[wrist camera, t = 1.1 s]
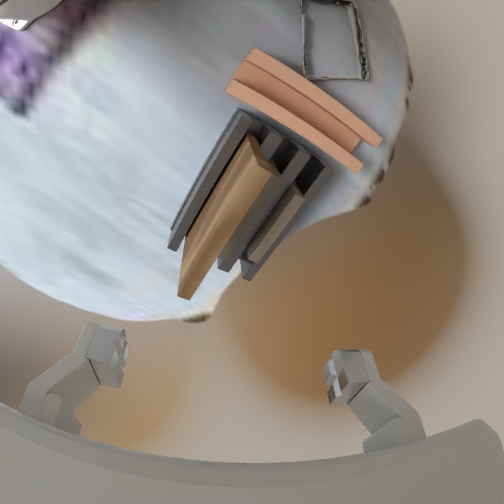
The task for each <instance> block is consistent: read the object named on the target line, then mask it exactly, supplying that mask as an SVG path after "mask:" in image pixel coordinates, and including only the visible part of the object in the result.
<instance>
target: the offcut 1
mask: <svg viewBox="0 0 504 504" xmlns="http://www.w3.org/2000/svg"><path fill="white" fill-rule="evenodd" d="M268 164H269V166H270V169H271V171H272V173H273V175H272V176H271V178H270V179H269V180H268V182H267V183H266V185H265V186H264V188H263V189H262V191H261V192H260V194H259V195H258V197H257V198H256V200H255V201H254V203H253V204H252V206H251V207H250V209H249V210H248V212H247V213H246V215H245V216H244V218H243V219H242V221H241V222H240V224H239V225H238V227H237V228H236V230H235V231H234V233H233V234H232V236H231V237H230V239H229V240H228V242H227V243H226V245H225V246H224V248H223V249H222V251H221V253H220V254H219V256H218V257H219V258H221V259H223V260H226V261H228V260H229V259H230V257H231V256H232V254H233V253H234V251H235V250H236V249H237V247H238V246H239V244H240V243H241V241H242V240H243V238H244V237H245V235H246V234H247V233H248V231H249V230H250V228H251V227H252V225H253V224H254V222H255V221H256V220H257V218H258V217H259V215H260V214H261V212H262V211H263V209H264V208H265V207H266V205H267V204H268V202H269V201H270V199H271V198H272V197H273V195H274V194H275V192H276V191H277V189H278V188H279V187H280V185H281V184H282V182H283V181H284V180H283V178H282V176H281V175H280V173H279V171H278V169H277V167H276V165H275V163H274V161H273V160H272V159H269V161H268Z"/></svg>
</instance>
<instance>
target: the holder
mask: <svg viewBox="0 0 504 504" xmlns="http://www.w3.org/2000/svg"><path fill="white" fill-rule="evenodd" d="M225 90H226V92H227V93H229V94H231V95H233V96H234V97H236V98H238V99H240V100H242V101H244V102H246V103H247V104H249V105H251V106H253V107H255V108H256V109H258V110H260V111H262V112H263V113H265V114H267V115H268V116H270V117H272V118H273V119H275V120H277V121H278V122H280V123H282V124H283V125H285V126H287V127H288V128H290V129H291V130H293V131H295V132H296V133H298V134H299V135H301V136H302V137H304V138H305V139H307V140H308V141H310V142H312V143H313V144H315V145H316V146H317V147H319V148H320V149H322V150H323V151H325V152H326V153H328V154H329V155H331V156H332V157H333V158H335V159H336V160H338V161H339V162H340V163H342V164H343V165H345V166H346V167H347V168H349V169H350V170H351V171H353V172H354V173H355V174H357V173H358V172H359V170H360V169H361V168H362V166H363V165H364V164H362V163H361V162H360V161H359V160H358V159H356V158H355V157H354V156H353V155H351V154H350V153H351V152H352V150H353V149H354V148H355V146H356V145H357V144H358V142H359V141H360V140H361V139H362V140H363V141H365V142H367V143H368V144H370V145H371V146H373V147H374V148H377V146H378V145H379V144H380V142H381V141H382V138H381V137H380V136H379V135H378V134H377V133H376V132H374V131H373V130H372V129H371V128H370V127H369V126H367V125H366V124H365V123H364V122H363V121H362V120H360V119H359V118H358V117H357V116H355V115H354V114H353V113H352V112H350V111H349V110H348V109H347V108H345V107H344V106H343V105H342V104H340V103H339V102H338V101H336V100H335V99H334V98H332V97H331V96H330V95H328V94H327V93H325V92H324V91H323V90H321V89H320V88H319V87H317V86H316V85H314V84H313V83H311V82H310V81H308V80H307V79H305V78H304V77H303V76H301V75H299V74H298V73H296V72H295V71H293V70H292V69H290V68H289V67H287V66H285V65H284V64H282V63H281V62H279V61H277V60H276V59H274V58H272V57H271V56H269V55H267V54H266V53H264V52H262V51H260V50H258V49H257V48H254V49H252V50H251V51H250V52H249V53H248V55H247V56H246V58H245V59H244V60H243V62H242V63H241V65H240V66H239V68H238V69H237V71H236V72H235V74H234V76H233V77H232V79H231V80H230V82H229V83H228V85H227V86H226V88H225Z"/></svg>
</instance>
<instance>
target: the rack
mask: <svg viewBox="0 0 504 504" xmlns="http://www.w3.org/2000/svg"><path fill="white" fill-rule="evenodd" d="M247 130H248V131H249V132H251V133H253V134H254V135H255V137H256V139H257V141H258V143H259V145H260V147H261V150H262V152H263V154H264V156H265V158H266V160H267V162H268V161H269V159H272V160H273V161H274V163H275V165H276V167H277V169H278V171H279V173H280V175H281V176H282V178H283V180H284V181H283V182H282V184H281V185H280V187H279V188H278V189H277V191H276V192H275V194H274V195H273V197H272V198H271V199H270V201H269V202H268V204H267V205H266V207H265V208H264V209H263V211H262V212H261V214H260V215H259V217H258V218H257V220H256V221H255V222H254V224H253V225H252V227H251V228H250V230H249V231H248V233H247V234H246V235H245V237H244V238H243V240H242V241H241V243H240V244H239V246H238V247H237V249H236V250H235V251H234V253H233V254H232V256H231V257H230V259H229V260H228V261H226V260H223V259H221V258H219V257H218V269H220V270H223V271H225V272H229V271H230V269H231V268H232V267H233V265H234V264H235V262H236V261H237V260H238V259H240V262H241V271H242V278H243V279H246V280H248V281H251V279H252V278H253V277H254V275H255V274H256V273H257V272H258V270H259V269H260V268H261V267H262V265H263V264H264V263H265V261H266V260H267V259H268V258H269V256H270V255H271V254H272V252H273V251H274V249H275V248H276V247H277V246H278V245H279V243H280V242H281V241H282V239H283V238H284V237H285V235H286V234H287V233H288V231H289V230H290V229H291V228H292V226H293V225H294V224H295V222H296V221H297V220H298V218H299V217H300V216H301V214H302V213H303V212H304V210H305V209H306V208H307V207H308V205H309V204H310V203H311V201H312V200H313V199H314V197H315V196H316V195H317V193H318V192H319V191H320V189H321V188H322V187H323V185H324V184H325V183H326V181H327V180H328V179H329V177H330V176H331V175H332V173H333V171H332V170H331V169H330V168H329V167H328V166H327V165H326V164H325V163H324V162H323V160H322V159H321V158H320V157H318V156H317V155H315V154H314V153H312V152H310V151H309V150H307V149H306V148H304V147H303V146H301V145H300V144H298V143H296V142H295V141H293V140H292V139H290V138H288V137H287V136H285V135H284V134H282V133H280V132H279V131H277V130H275V129H274V128H272V127H270V126H268V125H267V124H265V123H263V122H262V121H260V120H258V119H256V118H255V117H253V116H251V115H249V114H247V113H246V112H244V111H242V110H240V109H238V108H237V110H236V111H235V113H234V114H233V116H232V118H231V119H230V121H229V122H228V124H227V126H226V127H225V129H224V131H223V132H222V134H221V136H220V137H219V139H218V141H217V142H216V144H215V146H214V148H213V149H212V151H211V153H210V154H209V156H208V158H207V160H206V161H205V163H204V165H203V167H202V169H201V170H200V172H199V174H198V176H197V178H196V179H195V181H194V183H193V185H192V187H191V189H190V190H189V192H188V194H187V196H186V198H185V200H184V202H183V204H182V206H181V208H180V209H179V211H178V213H177V215H176V217H175V219H174V221H173V223H172V225H171V229H170V230H171V234H170V239H169V243H168V247H167V248H168V249H171V250H173V251H177V250H178V248H179V246H180V244H181V242H182V240H183V238H184V236H186V233H187V231H188V229H189V227H190V225H191V224H192V222H193V220H194V218H195V216H196V215H197V213H198V211H199V209H200V208H201V206H202V204H203V202H204V201H205V199H206V197H207V195H208V194H209V192H210V190H211V188H212V187H213V185H214V183H215V182H216V180H217V178H218V177H219V175H220V173H221V171H222V170H223V168H224V166H225V165H226V163H227V162H228V160H229V158H230V157H231V155H232V153H233V152H234V150H235V148H236V147H237V145H238V144H239V142H240V140H241V139H242V137H243V136H244V134H245V133H246V131H247ZM293 181H295V183H296V184H297V186H298V188H299V190H300V191H301V193H302V195H303V196H304V198H305V201H304V202H303V203H302V205H301V206H300V207H299V209H298V210H297V211H296V213H295V214H294V215H293V217H292V218H291V219H290V221H289V222H288V223H287V225H286V226H285V227H284V229H283V230H282V231H281V233H280V234H279V235H278V237H277V238H276V239H275V241H274V242H273V243H272V245H271V246H270V247H269V249H268V250H267V251H266V253H265V254H264V255H263V257H262V258H261V259H260V261H259V262H258V263H256V262H253V261H251V260H249V259H248V254H247V248H246V247H247V245H248V244H249V243H250V241H251V240H252V238H253V237H254V236H255V234H256V233H257V231H258V230H259V228H260V227H261V226H262V224H263V223H264V221H265V220H266V219H267V217H268V216H269V214H270V213H271V212H272V210H273V209H274V207H275V206H276V205H277V203H278V202H279V200H280V199H281V198H282V196H283V195H284V193H285V192H286V191H287V189H288V188H289V186H290V185H291V184H292V182H293Z"/></svg>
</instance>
